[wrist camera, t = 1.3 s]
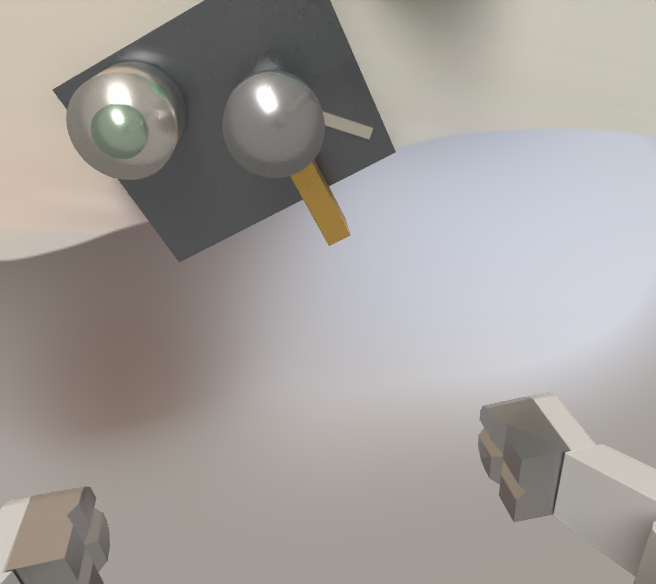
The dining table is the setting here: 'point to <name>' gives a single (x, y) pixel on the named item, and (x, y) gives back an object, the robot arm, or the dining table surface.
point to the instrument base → (217, 114)
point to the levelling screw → (283, 140)
